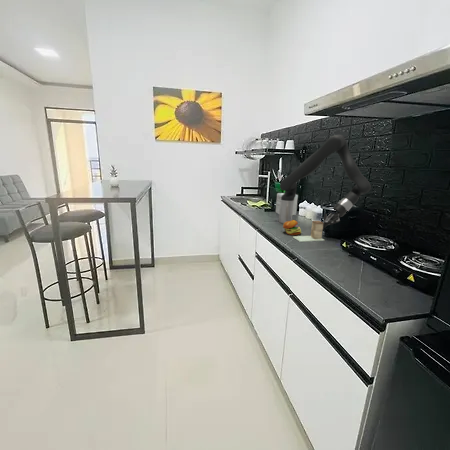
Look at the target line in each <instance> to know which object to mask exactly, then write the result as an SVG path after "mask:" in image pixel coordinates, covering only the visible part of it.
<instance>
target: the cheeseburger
mask: <svg viewBox="0 0 450 450" xmlns="http://www.w3.org/2000/svg"><path fill="white" fill-rule="evenodd" d="M298 223H299V222H298V221H297V220H295V219H292V221H287V222H285V223H283V225H282V226H283V227H282V228H283V229H284V231H285V233H286V234H287V235H289V236H298V235H301V234H302V229H301V227H300V226H299V225H298Z"/></svg>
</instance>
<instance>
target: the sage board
mask: <svg viewBox="0 0 450 450" xmlns="http://www.w3.org/2000/svg"><path fill="white" fill-rule="evenodd" d="M292 238H293V239H295V240H296V241H298V242H299V243H310V242H312V243H313V242H325V239H324V238H323V237H322V238H321V239H314V238H312V237H311V235H299V236H298V235H292Z"/></svg>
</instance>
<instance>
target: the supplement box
mask: <svg viewBox="0 0 450 450" xmlns="http://www.w3.org/2000/svg"><path fill="white" fill-rule="evenodd" d="M284 193H285V192H282V193H281V192H278V193H276V201H275V202H276V204H275V205H276V206H275V213H276V214H278V215H279V210H280V208H281V197H282V195H284ZM298 198H299V194H296V196H295V198H294V205H293V216H296V215H297V209H298Z"/></svg>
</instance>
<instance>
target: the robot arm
mask: <svg viewBox="0 0 450 450" xmlns="http://www.w3.org/2000/svg"><path fill="white" fill-rule="evenodd" d="M335 152H336V154H337V155H338V156H339V157H340V160H341V163H342V167H343V170H344V172H345V173H346V176H347V177H348V180H350V182H354V184H355V185H354V186H353V187H351V189H350V191H349V192H348V193H347V194H346V195H345V196H344V197H343V198H342V199H341V200H339V201H338V202H337V203H336V204H335V205H334V206H333V207H332V209H334V210H336V211H339V212H337V213H334V214H332V213H330V212H329V213H330V214H329V213H324V216H323V230H324V229H326V227H327V226H333V225H334V224H337V223H340V222H341V220H340V218H342V217H344V216H345V215H346V214H347V213H348V212H349V211H350V210H351V209H352V207H353V206H354V205H356V203H357V202H358V201H359V199H360V198H361V196H362V195H364V194H367V193H369V192H370V191H371V189H372V188H371V187H372V186H371V182H370V181H369V180H368V179H367V178H366V177H365V176H364V175H363V174H362V172H361V171H360V169H359V167H358V165H357V164H356V161H355V160H354V157H353V155H352V154H351V151H350V149H349V146H348V142H347V140H346V137H345V136H344V135H342V134H334V135H331V136H330V137H329V138H327V139H326V141H325V142H324V143H323V144H322V145H321V146H320V147H319V148H318V149H317V150H316V151H315V152H313V153H312V154H311V155H310V156H308V157H307V158H306V159H305V160H304V161H303V162H302V163H301V164H300V165H299V166H297V167H296V168H295V169H294V170H293V171H292V172H291V173H290V174H288V175H287V176H286V177H284V178H283V179H281V181H280V182H279V188H280V190H282V191H284V192H283V193H284V195H282V197H281V208H280V210H279V214H278V222H279V223H280V224H284V223H285V222H287V221H292V220H293V216H294V215H293V205H294V198H295V196H296V195H297V188H298V181H300V180H302V179H304V178H306V177H307V176H309V175H311V174H312V173H313V172H315V171H316V170H317V169H319V167H320V166H321V165H322V164H323V162H324V161H325V160H326V159H327V158H329V156H330V155H332V154H333V153H335ZM332 209H331V210H332ZM347 211H348V212H347ZM346 212H347V213H346ZM327 214H329V215H328V216H327Z"/></svg>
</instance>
